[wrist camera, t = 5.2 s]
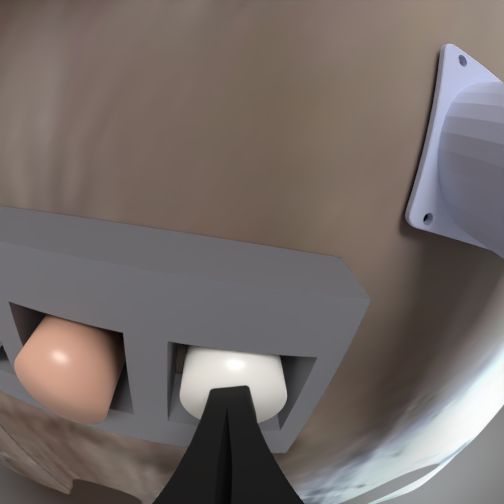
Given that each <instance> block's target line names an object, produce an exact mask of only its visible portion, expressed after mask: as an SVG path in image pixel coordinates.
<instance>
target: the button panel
mask: <svg viewBox="0 0 504 504" xmlns="http://www.w3.org/2000/svg"><path fill="white" fill-rule="evenodd" d="M370 302H371V299H370V298H369V296H368V295H367V293H366V292H365V290H364V289H363V287H362V286H361V284H360V283H359V281H358V280H357V279H356V277H355V276H354V274H353V273H352V271H351V270H350V269H349V267H348V266H347V264H346V263H345V261H344V260H343V259H342V258H340V257H334V256H328V255H322V254H316V253H310V252H304V251H297V250H291V249H285V248H279V247H273V246H266V245H260V244H254V243H248V242H241V241H235V240H229V239H222V238H216V237H209V236H203V235H197V234H190V233H184V232H177V231H171V230H164V229H157V228H151V227H144V226H137V225H131V224H124V223H117V222H111V221H104V220H97V219H90V218H83V217H76V216H69V215H62V214H55V213H48V212H41V211H34V210H27V209H20V208H13V207H5V206H0V339H1V342H2V346H1V347H0V390H1V391H3V392H5V393H7V394H9V395H11V396H13V397H15V398H17V399H19V400H21V401H23V402H26V403H28V404H30V405H33V406H35V407H37V408H40V409H42V410H45V411H47V412H50V413H52V414H55V413H53V412H51V411H50V410H48V409H47V408H45V407H44V406H43V405H41V404H40V403H39V402H38V401H36V400H35V399H34V398H33V397H32V396H31V395H30V394H29V393H28V392H27V390H26V389H25V388H24V387H23V385H22V384H21V382H20V381H19V379H18V377H17V374H16V372H15V367H14V362H15V359H16V357H17V356H18V354H19V353H20V351H21V350H22V348H23V347H24V345H25V344H26V342H27V341H28V339H29V338H30V337H31V335H32V334H33V332H34V331H35V330H36V328H37V327H38V325H39V324H40V323H41V321H42V320H43V319H44V317H45V316H46V315H47V314H50V315H54V316H57V317H61V318H64V319H68V320H72V321H76V322H79V323H83V324H87V325H91V326H96V327H100V328H104V329H108V330H113V331H117V332H122V333H123V337H124V347H125V356H126V363H124V365H123V368H122V371H121V374H120V377H119V380H118V383H117V386H116V388H115V391H114V395H113V398H112V401H111V404H110V407H109V410H108V413H107V416H106V418H105V420H104V421H102V422H101V423H98V424H84V425H87V426H90V427H94V428H97V429H100V430H104V431H108V432H111V433H115V434H119V435H123V436H127V437H132V438H136V439H141V440H146V441H151V442H156V443H162V444H167V445H174V446H180V447H187V448H188V447H189V445H190V443H191V440H192V438H193V436H194V434H195V431H196V429H197V427H198V424H199V422H200V419H198V418H196V417H194V416H193V415H191V414H190V413H189V412H188V411H187V410H186V409H185V408H184V407H183V405H182V403H181V400H180V389H181V382H182V375H183V374H180V373H176V354H177V343H181V344H188V345H194V346H201V347H209V348H216V349H224V350H232V351H241V352H251V353H262V354H273V355H284V357H283V360H282V362H281V363H282V369H283V374H284V380H285V385H286V390H287V400H286V403H285V405H284V407H283V408H282V409H281V410H280V411H279V412H278V413H277V414H276V415H275V416H273V417H271V418H270V419H268V420H266V421H263V422H260V423H258V425H259V427H260V430H261V432H262V434H263V437H264V439H265V441H266V443H267V445H268V447H269V449H270V451H271V453H286V452H287V451H288V449H289V448H290V446H291V445H292V443H293V442H294V440H295V439H296V437H297V436H298V434H299V433H300V431H301V430H302V428H303V427H304V425H305V424H306V422H307V420H308V419H309V417H310V416H311V414H312V412H313V411H314V409H315V408H316V406H317V404H318V403H319V401H320V399H321V397H322V396H323V394H324V392H325V391H326V389H327V387H328V385H329V384H330V382H331V380H332V378H333V376H334V375H335V373H336V371H337V369H338V367H339V365H340V364H341V362H342V360H343V358H344V356H345V354H346V352H347V350H348V348H349V346H350V344H351V342H352V340H353V338H354V336H355V334H356V332H357V330H358V328H359V326H360V324H361V322H362V319H363V317H364V315H365V313H366V311H367V309H368V306H369V304H370ZM55 415H57V414H55ZM58 416H59V415H58ZM60 417H61V416H60Z"/></svg>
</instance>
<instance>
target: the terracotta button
mask: <svg viewBox="0 0 504 504" xmlns="http://www.w3.org/2000/svg"><path fill="white" fill-rule="evenodd" d="M125 360H126V356H125V347H124V343H123V341H122V339H121V337H120V335H119V334H118V332H117V331H113V330H108V329H104V328H100V327H96V326H91V325H87V324H83V323H79V322H76V321H72V320H68V319H64V318H61V317H57V316H54V315H50V314H47V315H46V316H45V317H44V319H43V320H42V321H41V323H40V324H39V325H38V327H37V328H36V330H35V331H34V332H33V334H32V335H31V337H30V338H29V339H28V341H27V342H26V344H25V345H24V347H23V348H22V350H21V351H20V353H19V354H18V356H17V357H16V359H15V362H14V367H15V372H16V374H17V377H18V379H19V381H20V382H21V384H22V385H23V387H24V388H25V389H26V390H27V392H28V393H29V394H30V395H31V396H32V397H33V398H34V399H35V400H36V401H38V402H39V403H40V404H41V405H43V406H44V407H45V408H47V409H48V410H50V411H51V412H53V413H55V414H57V415H59V416H61V417H63V418H65V419H68V420H70V421H73V422H77V423H81V424H98V423H101V422H102V421H104V420H105V418H106V416H107V413H108V410H109V407H110V404H111V401H112V398H113V395H114V391H115V388H116V386H117V383H118V380H119V377H120V374H121V371H122V368H123V365H124V363H125Z"/></svg>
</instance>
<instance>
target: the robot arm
mask: <svg viewBox="0 0 504 504" xmlns="http://www.w3.org/2000/svg"><path fill="white" fill-rule="evenodd" d="M458 57H459V58H460V60H461V64H460V62H459V59H458ZM427 213H428V218H427V219H426V221H424V222H423V219H424V216H425V215H426V214H427ZM405 218H406V221H407V223H408V224H410V225H411V226H413V227H414V228H417V229H421V230H425V231H428V232H432V233H435V234H439V235H443V236H446V237H449V238H453V239H456V240H460V241H463V242H466V243H469V244H473V245H476V246H479V247H482V248H485V249H488V250H492V251H493V252H495V253H496V254H497V255H499V256H500V257H501V258H503V259H504V82H501V81H500V80H499V79H498V78H497V77H496V76H494V75H493V74H492V73H491V72H490V71H488V70H487V69H486V68H485V67H483V66H482V65H481V64H480V63H478V62H477V61H476V60H474V59H473V58H472V57H470V56H469V55H468V54H466V53H465V52H463V51H462V50H460V49H459V48H458V47H456V46H455V45H452V44H446V45H443V46H442V47H441V50H440V58H439V67H438V75H437V82H436V88H435V94H434V100H433V106H432V111H431V116H430V121H429V126H428V131H427V135H426V140H425V144H424V148H423V152H422V156H421V160H420V164H419V168H418V172H417V175H416V179H415V182H414V186H413V189H412V193H411V196H410V199H409V202H408V206H407V209H406V213H405ZM152 504H304V503H303V501H302V500H301V499H300V497H299V496H298V495H297V493H296V492H295V491H294V489H293V488H292V486H291V485H290V483H289V482H288V480H287V479H286V477H285V476H284V474H283V473H282V471H281V469H280V468H279V466H278V464H277V462H276V461H275V459H274V457H273V455H272V453H271V451H270V449H269V447H268V445H267V443H266V441H265V439H264V437H263V434H262V432H261V430H260V427H259V425H258V422H257V417H256V411H255V407H254V403H253V399H252V396H251V392H250V388H249V387H248V386H246V385H244V386H235V387H225V388H214V389H211V390H210V392H209V396H208V399H207V402H206V405H205V408H204V411H203V414H202V417H201V419H200V422H199V424H198V427H197V429H196V431H195V434H194V436H193V438H192V440H191V443H190V445H189V447H188V449H187V451H186V453H185V454H184V456H183V458H182V460H181V462H180V464H179V466H178V467H177V469H176V471H175V472H174V474H173V476H172V477H171V479H170V480H169V482H168V483H167V485H166V486H165V488H164V489H163V490H162V492H161V493H160V494H159V496H158V497H157V498H156V500H155V501H154V502H153V503H152Z"/></svg>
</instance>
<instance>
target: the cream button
mask: <svg viewBox="0 0 504 504" xmlns="http://www.w3.org/2000/svg"><path fill="white" fill-rule="evenodd" d="M244 385H246V386H248V387H249V388H250V392H251V396H252V399H253V403H254V407H255V411H256V417H257V422H258V423H260V422H263V421H266V420H268V419H270V418H271V417H273V416H275V415H276V414H277V413H278V412H279V411H280V410H281V409H282V408H283V407H284V405H285V403H286V400H287V390H286V385H285V380H284V374H283V369H282V363H281V358H280V355H273V354H262V353H251V352H241V351H232V350H224V349H216V348H209V347H201V346H194V345H188V344H187V350H186V356H185V362H184V369H183V375H182V382H181V389H180V400H181V403H182V405H183V407H184V408H185V409H186V410H187V411H188V412H189V413H190V414H191V415H193V416H194V417H196V418H198V419H201V417H202V414H203V411H204V408H205V405H206V402H207V399H208V396H209V392H210V390H211V389H214V388H225V387H235V386H244Z"/></svg>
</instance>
